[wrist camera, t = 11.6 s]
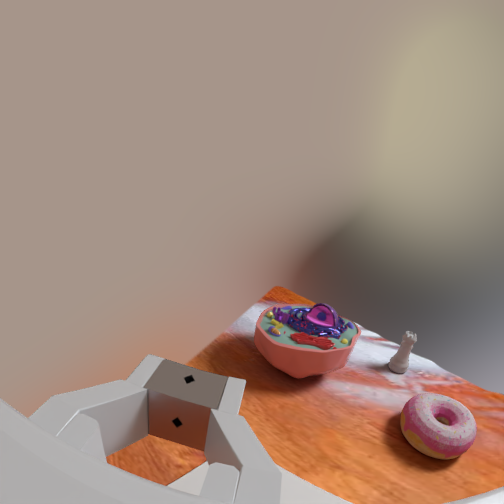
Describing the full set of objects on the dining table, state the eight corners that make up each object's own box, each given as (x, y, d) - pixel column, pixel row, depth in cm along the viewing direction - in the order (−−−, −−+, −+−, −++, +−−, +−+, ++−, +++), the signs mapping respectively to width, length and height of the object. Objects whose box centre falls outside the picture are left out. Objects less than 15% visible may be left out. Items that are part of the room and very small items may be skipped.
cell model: (224, 352, 50) (235, 293, 48) (303, 334, 63) (316, 285, 61) (291, 411, 38) (314, 344, 35) (365, 372, 50) (386, 318, 48)
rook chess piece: (402, 376, 49) (418, 341, 48) (384, 368, 52) (398, 332, 51) (409, 368, 53) (423, 334, 51) (391, 360, 56) (404, 327, 54)
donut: (467, 472, 24) (487, 448, 23) (389, 455, 30) (406, 429, 29) (462, 420, 35) (476, 397, 34) (398, 403, 41) (410, 379, 40)
